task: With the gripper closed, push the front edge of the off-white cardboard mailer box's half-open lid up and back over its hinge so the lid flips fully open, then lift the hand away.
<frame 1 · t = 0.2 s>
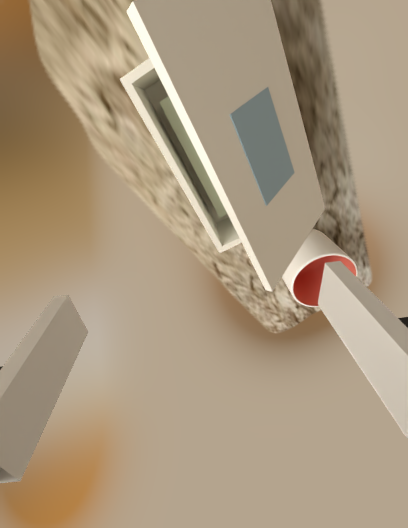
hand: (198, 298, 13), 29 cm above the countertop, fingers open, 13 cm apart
lid: (264, 147, 22), point 15 cm above the countertop, hinge at 45.0°
cup: (298, 250, 45), on the countertop
mailer box: (223, 143, 35), on the countertop
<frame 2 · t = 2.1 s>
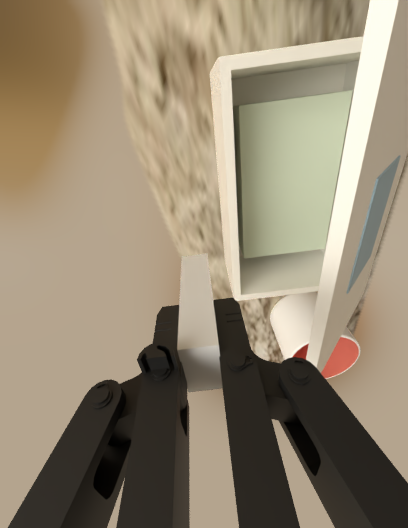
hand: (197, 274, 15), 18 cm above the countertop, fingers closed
lid: (367, 223, 17), point 15 cm above the countertop, hinge at 45.0°
cup: (296, 308, 42), on the countertop
mailer box: (275, 177, 30), on the countertop
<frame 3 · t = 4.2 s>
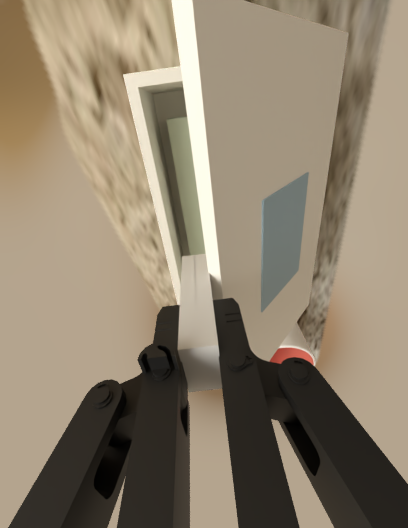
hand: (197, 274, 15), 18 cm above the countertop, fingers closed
lid: (280, 240, 17), point 15 cm above the countertop, hinge at 46.1°, touching gripper
cup: (260, 317, 42), on the countertop
mailer box: (223, 188, 30), on the countertop
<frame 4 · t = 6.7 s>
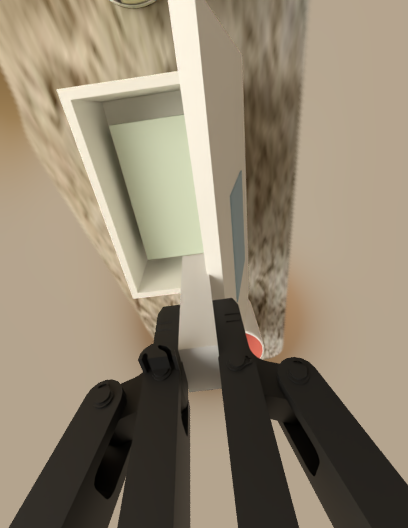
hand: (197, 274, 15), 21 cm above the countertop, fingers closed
lid: (234, 233, 19), point 16 cm above the countertop, hinge at 74.7°, touching gripper
cup: (223, 306, 45), on the countertop
mailer box: (175, 186, 33), on the countertop
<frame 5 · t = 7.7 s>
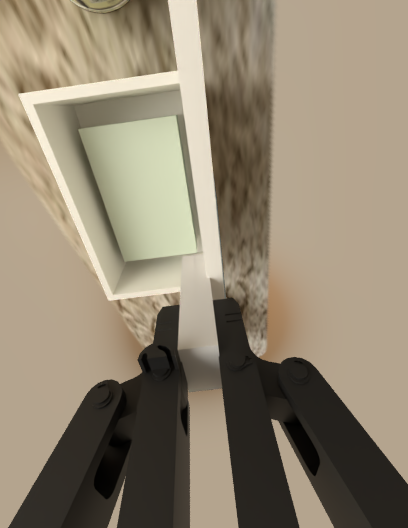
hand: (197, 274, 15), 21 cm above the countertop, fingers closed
lid: (213, 235, 19), point 17 cm above the countertop, hinge at 87.3°, touching gripper
mailer box: (151, 188, 33), on the countertop
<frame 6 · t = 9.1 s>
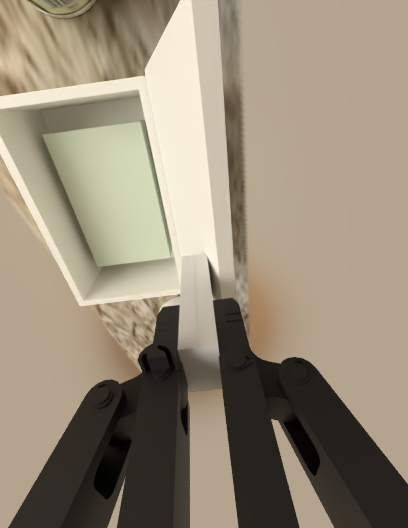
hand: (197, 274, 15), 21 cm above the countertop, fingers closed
lid: (194, 238, 19), point 16 cm above the countertop, hinge at 104.1°, touching gripper
mailer box: (124, 193, 33), on the countertop
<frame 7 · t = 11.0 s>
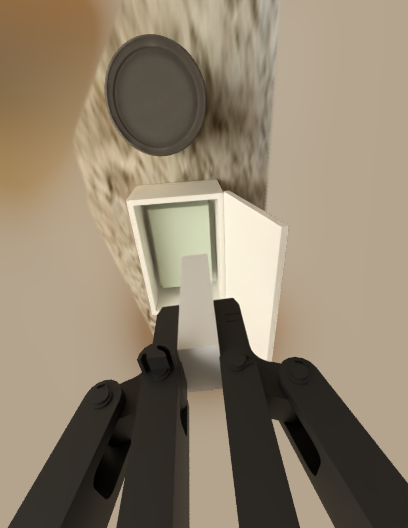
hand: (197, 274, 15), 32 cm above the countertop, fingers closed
coffee can: (166, 106, 37), on the countertop
lid: (247, 282, 35), point 16 cm above the countertop, hinge at 104.5°
mailer box: (183, 239, 48), on the countertop
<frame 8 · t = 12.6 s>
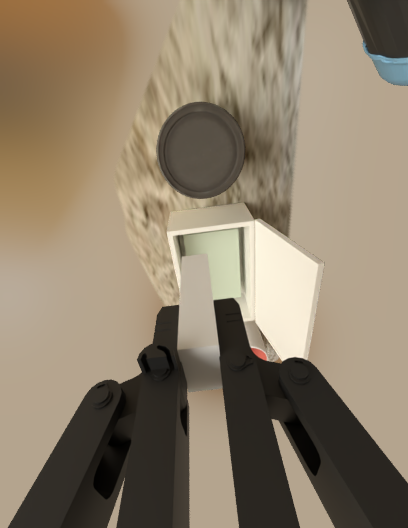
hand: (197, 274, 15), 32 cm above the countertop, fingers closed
coffee can: (197, 141, 40), on the countertop
lid: (279, 301, 38), point 16 cm above the countertop, hinge at 104.5°
cup: (238, 327, 64), on the countertop
mailer box: (212, 256, 52), on the countertop
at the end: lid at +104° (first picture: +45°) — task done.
